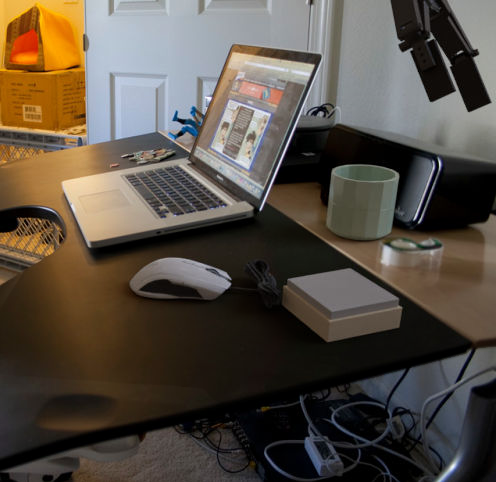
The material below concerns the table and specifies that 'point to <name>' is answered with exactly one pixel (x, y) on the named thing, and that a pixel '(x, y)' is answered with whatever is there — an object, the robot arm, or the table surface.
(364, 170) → the pale green cup
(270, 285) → the computer mouse
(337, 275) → the scale
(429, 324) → the table surface
